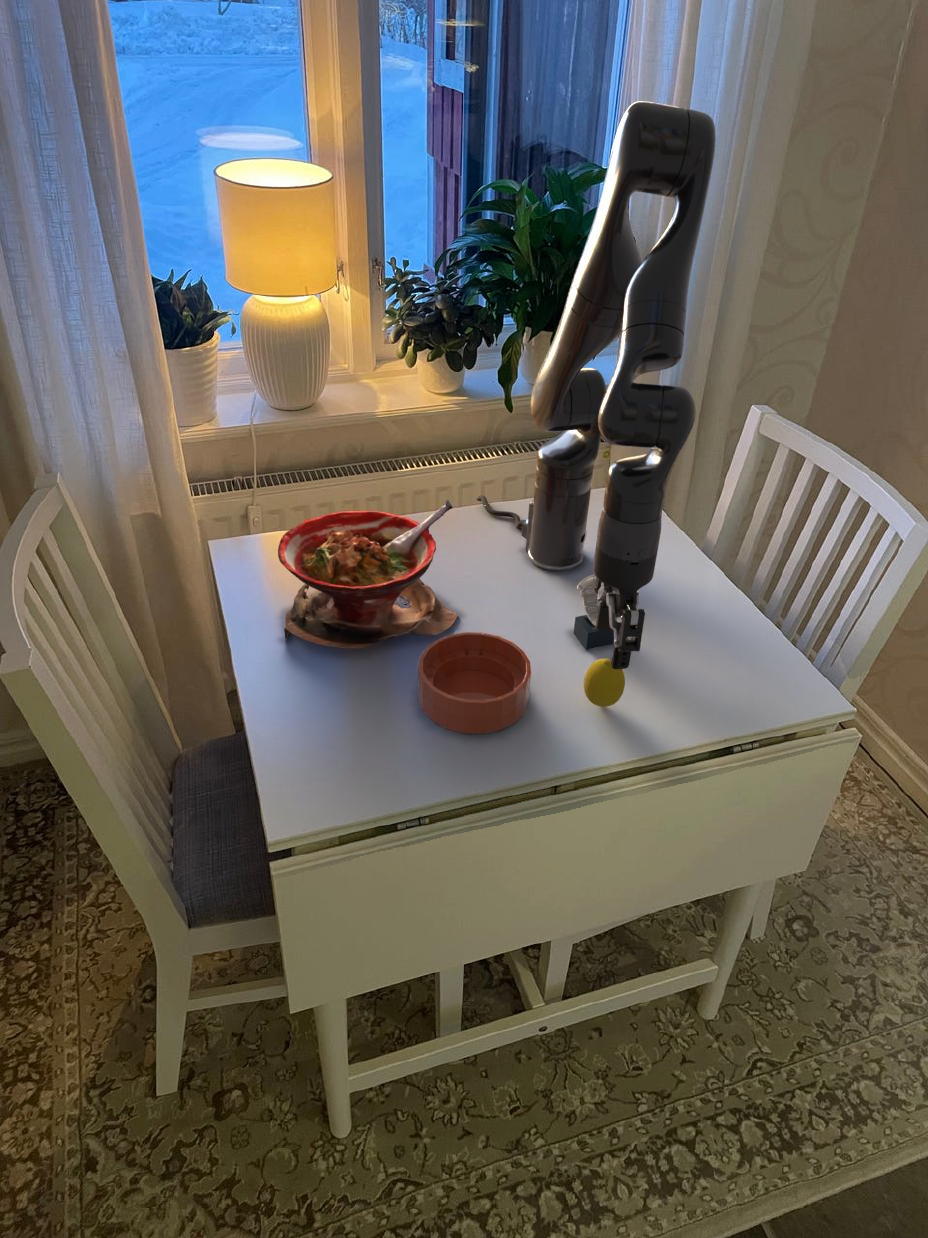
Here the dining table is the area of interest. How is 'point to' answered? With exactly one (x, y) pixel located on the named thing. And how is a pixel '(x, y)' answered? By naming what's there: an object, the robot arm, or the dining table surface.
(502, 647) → the bowl
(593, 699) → the lemon
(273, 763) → the dining table surface
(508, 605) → the dining table surface
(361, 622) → the stew
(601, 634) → the watch
